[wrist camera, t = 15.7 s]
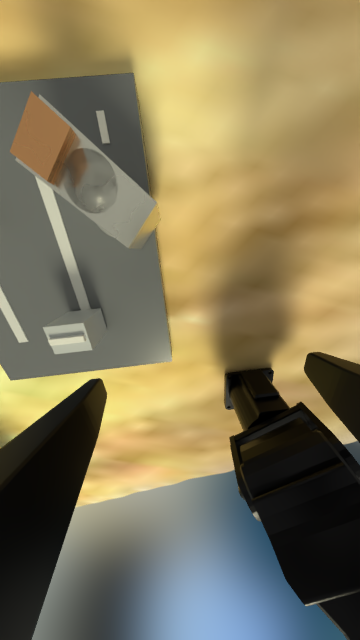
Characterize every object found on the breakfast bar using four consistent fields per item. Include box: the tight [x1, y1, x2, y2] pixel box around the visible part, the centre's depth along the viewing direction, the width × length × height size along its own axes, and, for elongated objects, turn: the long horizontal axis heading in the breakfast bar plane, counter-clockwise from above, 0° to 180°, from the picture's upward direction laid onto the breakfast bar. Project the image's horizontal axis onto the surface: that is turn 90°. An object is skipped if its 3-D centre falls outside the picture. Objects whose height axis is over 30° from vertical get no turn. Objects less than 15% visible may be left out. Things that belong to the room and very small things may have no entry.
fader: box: [43, 308, 107, 354], centre depth 14 cm, size 2×3×4 cm
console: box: [0, 73, 172, 380], centre depth 15 cm, size 22×18×2 cm
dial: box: [10, 91, 161, 249], centre depth 10 cm, size 6×3×6 cm, turn 51°
